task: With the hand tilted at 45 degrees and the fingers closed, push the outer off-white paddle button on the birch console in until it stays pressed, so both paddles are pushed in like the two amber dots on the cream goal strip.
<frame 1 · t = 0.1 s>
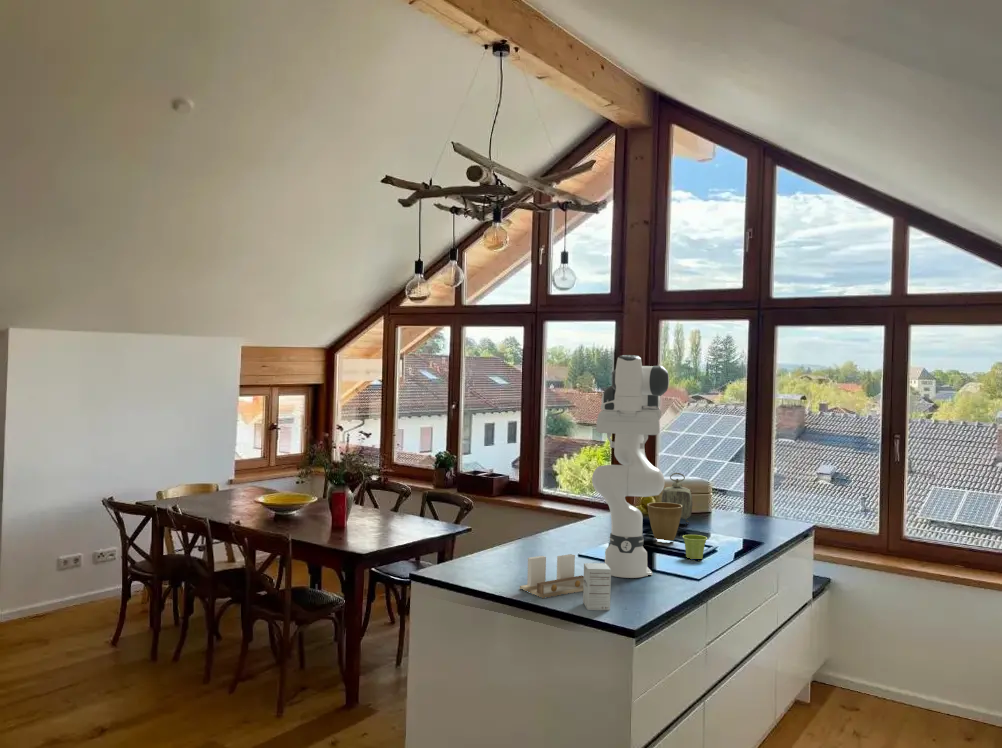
hand: (627, 448, 255), 48 cm above the counter, tool pointing down, fingers open, 8 cm apart
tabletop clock: (676, 525, 384), on the counter
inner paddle: (565, 569, 264), point 6 cm above the counter, slide at 3.0 cm
outer paddle: (536, 570, 261), point 6 cm above the counter, slide at 0.0 cm
plant pot 2: (694, 559, 311), on the counter
plant pot: (663, 542, 343), on the counter
supplement box: (596, 607, 243), on the counter
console: (553, 589, 261), on the counter
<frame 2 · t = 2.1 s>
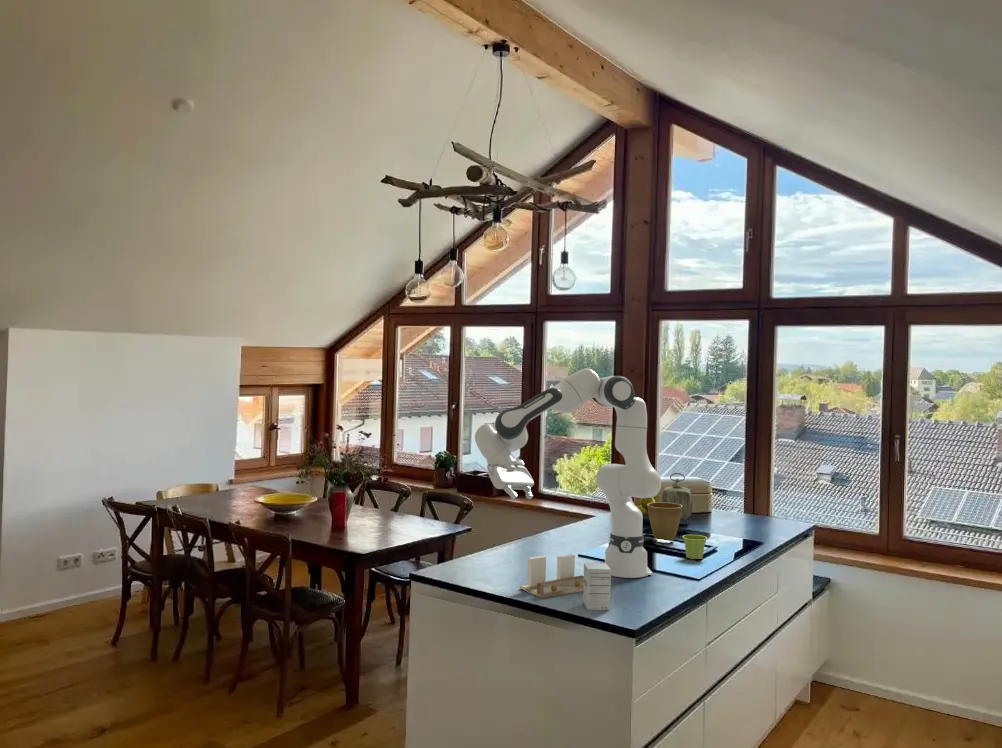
hand: (523, 497, 266), 29 cm above the counter, tool tilted 45°, fingers open, 8 cm apart
nothing on the counter moved.
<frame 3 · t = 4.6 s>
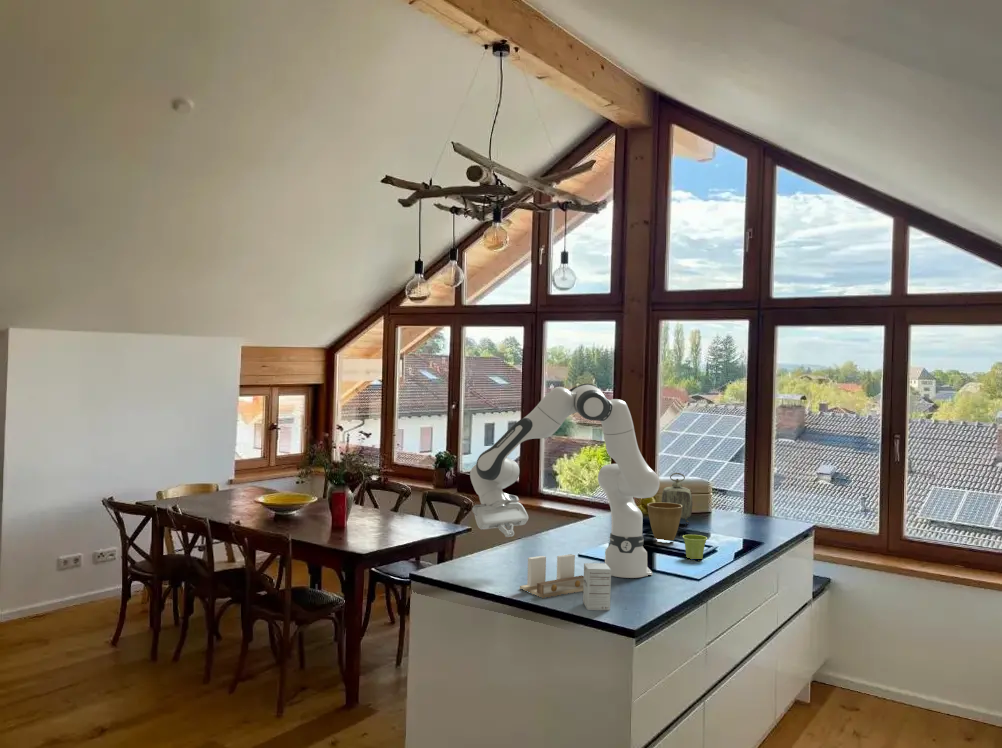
hand: (510, 535, 273), 15 cm above the counter, tool tilted 45°, fingers closed
nothing on the counter moved.
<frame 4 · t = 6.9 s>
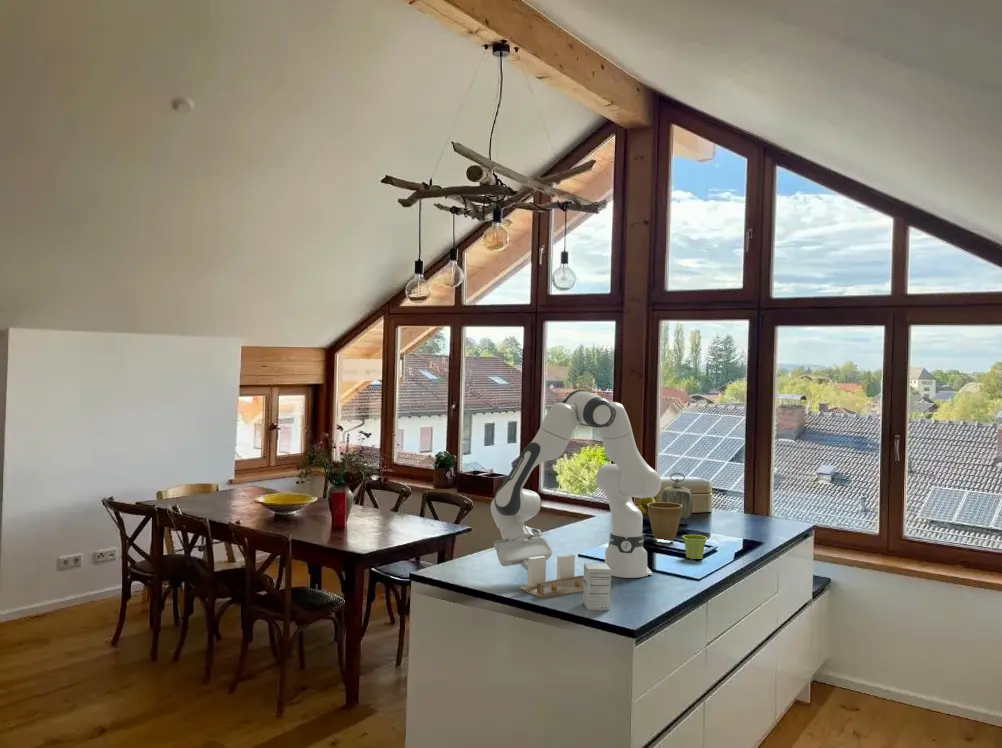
hand: (533, 572, 262), 5 cm above the counter, tool tilted 45°, fingers closed, pressing on outer paddle
outer paddle: (536, 571, 261), point 6 cm above the counter, slide at 0.1 cm, touching gripper
everything else where it was.
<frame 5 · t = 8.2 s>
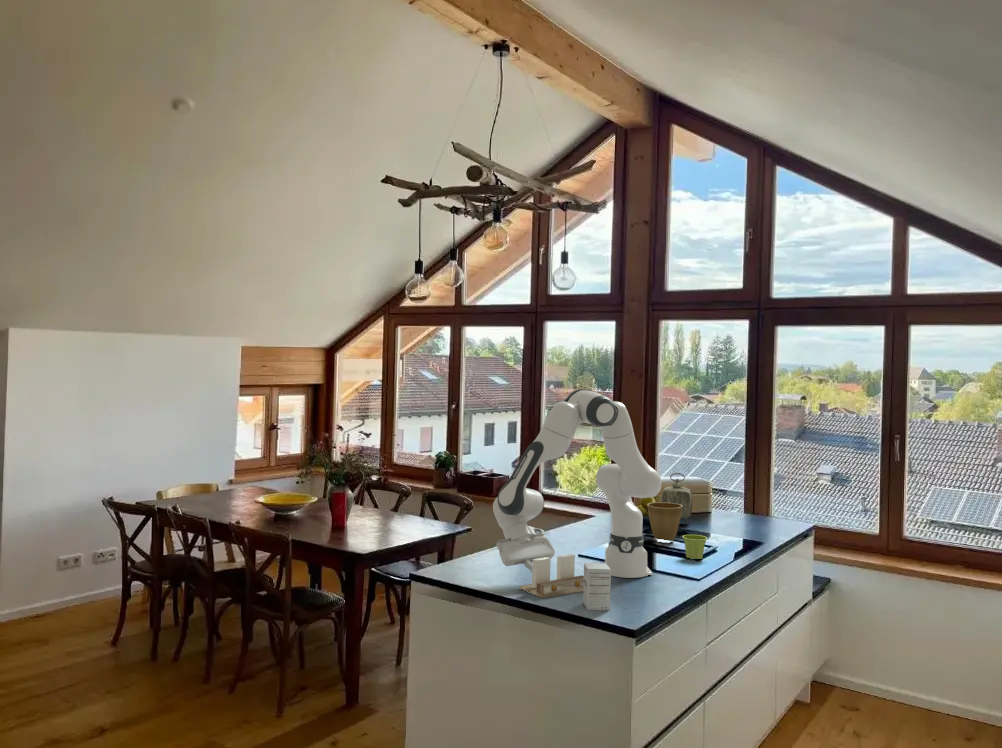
hand: (536, 572, 261), 6 cm above the counter, tool tilted 45°, fingers closed
outer paddle: (541, 572, 259), point 6 cm above the counter, slide at 2.4 cm
everything else where it was.
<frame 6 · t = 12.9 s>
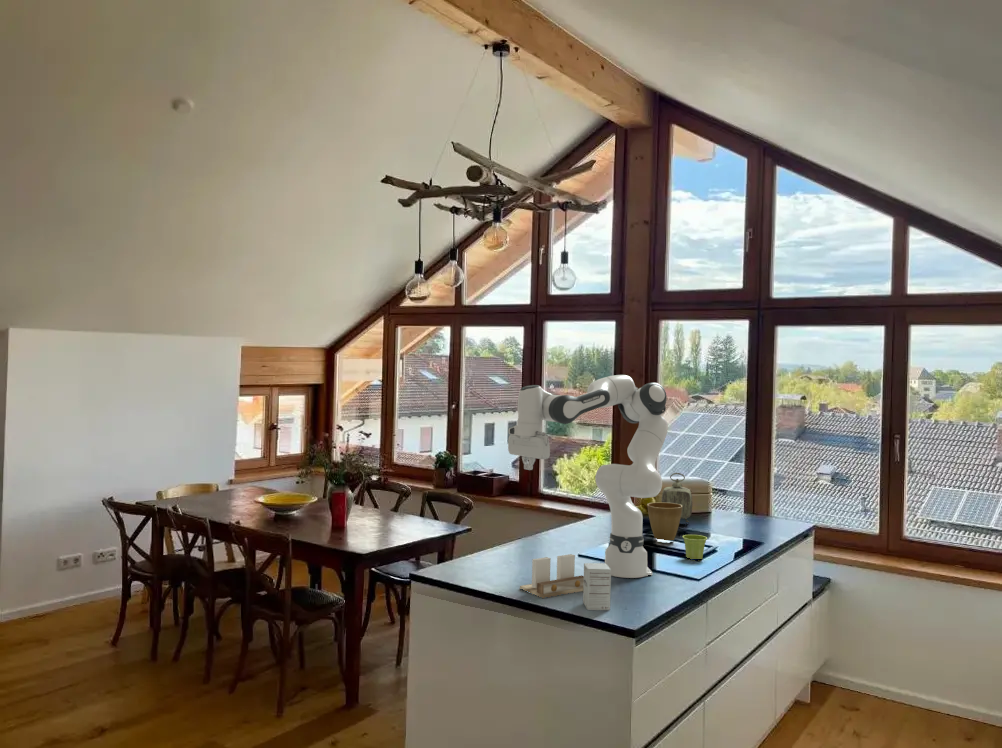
hand: (528, 469, 282), 37 cm above the counter, tool pointing down, fingers closed
nothing on the counter moved.
at the end: outer paddle slide at 2.4 cm; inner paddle slide at 3.0 cm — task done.
